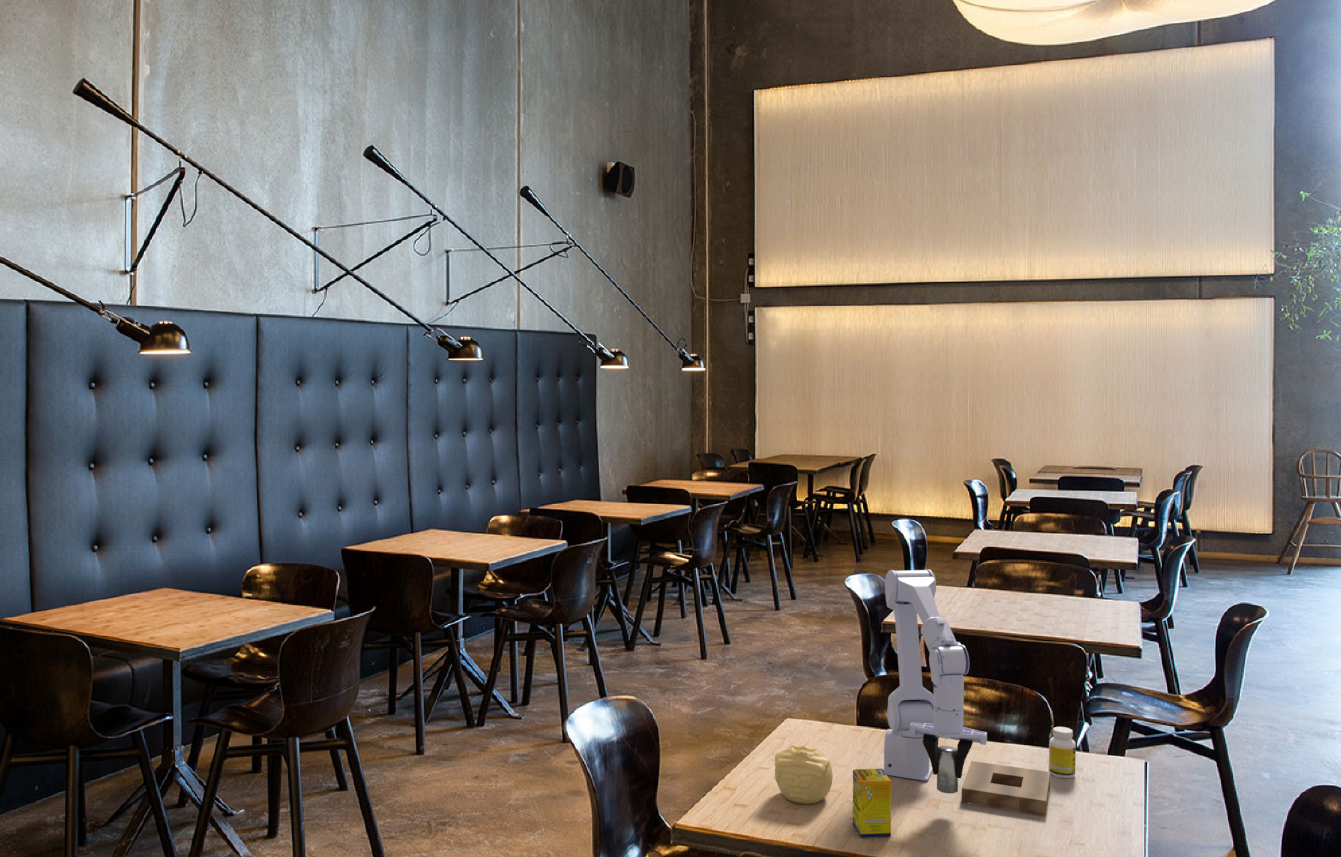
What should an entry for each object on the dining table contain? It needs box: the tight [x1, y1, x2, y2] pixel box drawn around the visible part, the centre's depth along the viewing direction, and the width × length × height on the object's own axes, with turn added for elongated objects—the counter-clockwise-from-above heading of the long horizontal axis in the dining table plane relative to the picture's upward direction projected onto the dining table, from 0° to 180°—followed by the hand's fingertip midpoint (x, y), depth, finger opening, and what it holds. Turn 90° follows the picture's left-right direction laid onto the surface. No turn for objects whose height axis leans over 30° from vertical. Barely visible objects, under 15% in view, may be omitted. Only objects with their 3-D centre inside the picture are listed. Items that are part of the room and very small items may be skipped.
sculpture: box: [774, 744, 834, 805], centre depth 208 cm, size 12×12×11 cm
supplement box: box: [852, 768, 892, 839], centre depth 192 cm, size 6×6×11 cm
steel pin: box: [936, 745, 959, 794], centre depth 200 cm, size 4×4×8 cm
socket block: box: [961, 760, 1051, 817], centre depth 210 cm, size 16×16×3 cm
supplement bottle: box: [1048, 726, 1077, 779], centre depth 220 cm, size 5×5×10 cm
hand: (947, 774), depth 200 cm, fingers closed on steel pin, 4 cm apart
